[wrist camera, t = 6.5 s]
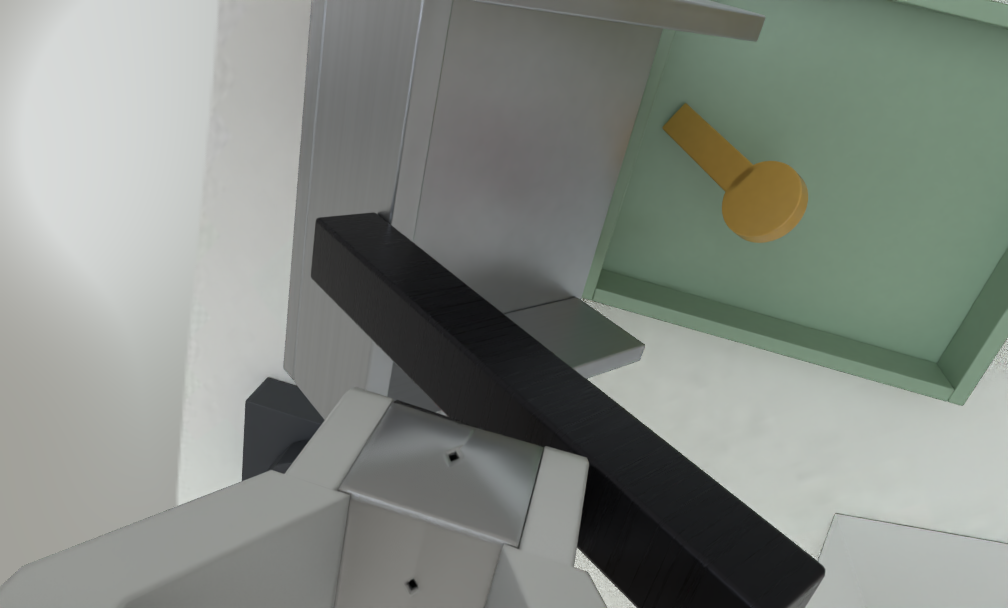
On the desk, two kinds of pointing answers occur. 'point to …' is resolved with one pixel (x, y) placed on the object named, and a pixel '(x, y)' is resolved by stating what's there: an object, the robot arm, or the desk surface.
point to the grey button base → (276, 427)
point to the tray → (831, 190)
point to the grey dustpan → (507, 260)
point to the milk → (908, 568)
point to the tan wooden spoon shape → (742, 181)
